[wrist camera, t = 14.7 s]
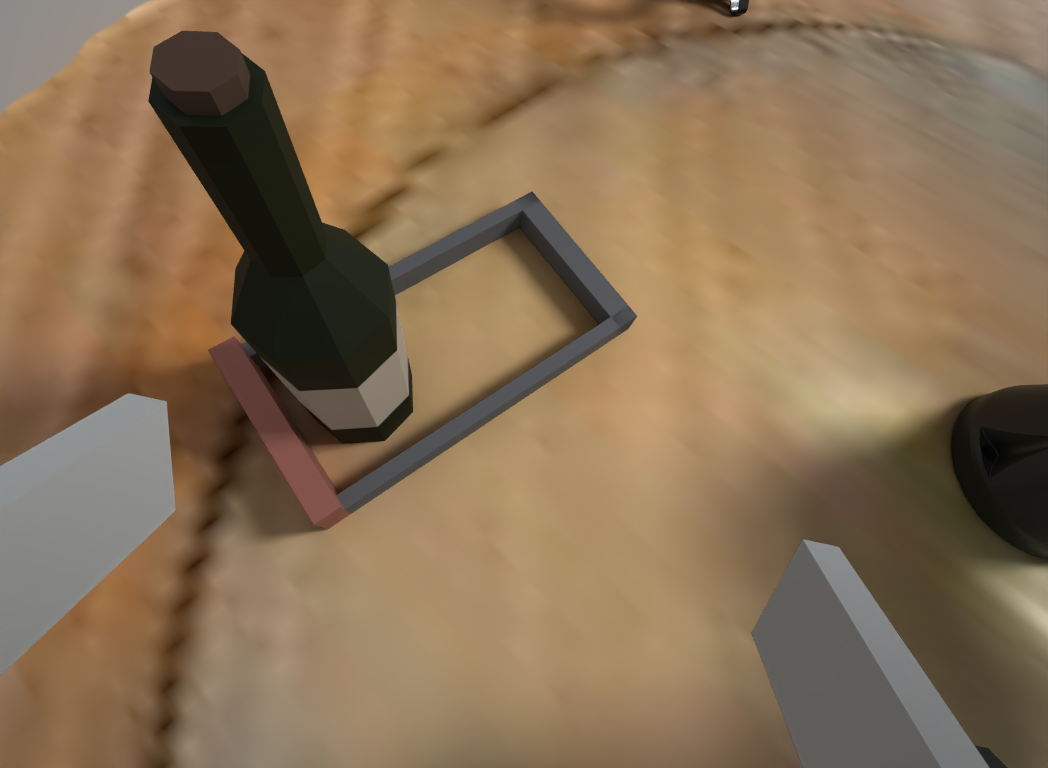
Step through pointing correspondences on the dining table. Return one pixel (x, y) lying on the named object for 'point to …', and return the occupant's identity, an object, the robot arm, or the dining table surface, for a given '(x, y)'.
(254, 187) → the wine bottle
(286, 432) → the frame
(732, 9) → the coffee press
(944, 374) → the dining table surface
